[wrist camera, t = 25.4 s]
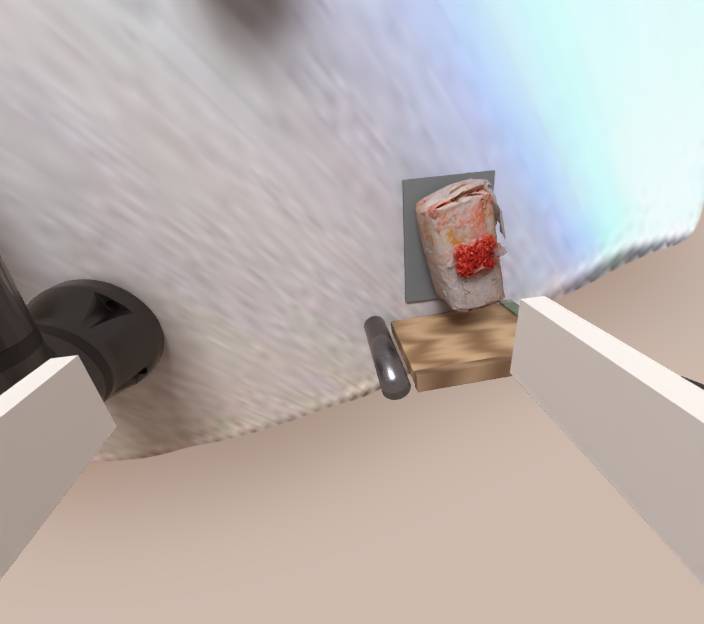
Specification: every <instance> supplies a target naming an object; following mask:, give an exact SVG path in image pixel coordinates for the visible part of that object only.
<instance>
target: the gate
mask: <svg viewBox="0 0 704 624" xmlns="http://www.w3.org/2000/svg"><path fill="white" fill-rule="evenodd" d="M518 312H519V305H518V304H516V303H515V302H514V301H512V300H511V299H510V300H504V301H499V304H494V305H489V306H487V307H484V308H478V309H473V310H471V311H470V312H458V311H452V312H446V313H440V314H434V315H428V316H422V317H416V318H410V319H404V320H398V321H392V322H391V327H392V333H393V335H394V337H395V339H396V342H397V344H398V346H399V349H400V351H401V353H402V355H403V358H404V360H405V362H406V365H407V367H408V369H409V371H410V374H411V376H412V378H413V381H414V383H415V387H416V389H417V391H418V392H422V391H427V390H433V389H438V388H445V387H450V386H456V385H462V384H467V383H473V382H478V381H485V380H490V379H496V378H501V377H508V376H512V375H511V374H510V368H511V361H512V354H513V347H514V340H515V333H516V326H517V319H518Z"/></svg>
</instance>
